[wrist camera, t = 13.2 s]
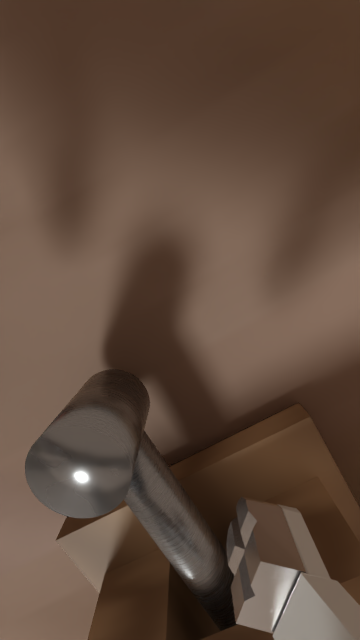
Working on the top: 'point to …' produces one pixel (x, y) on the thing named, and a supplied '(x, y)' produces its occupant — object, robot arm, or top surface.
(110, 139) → the top surface
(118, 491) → the hook rod
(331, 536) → the eye block
